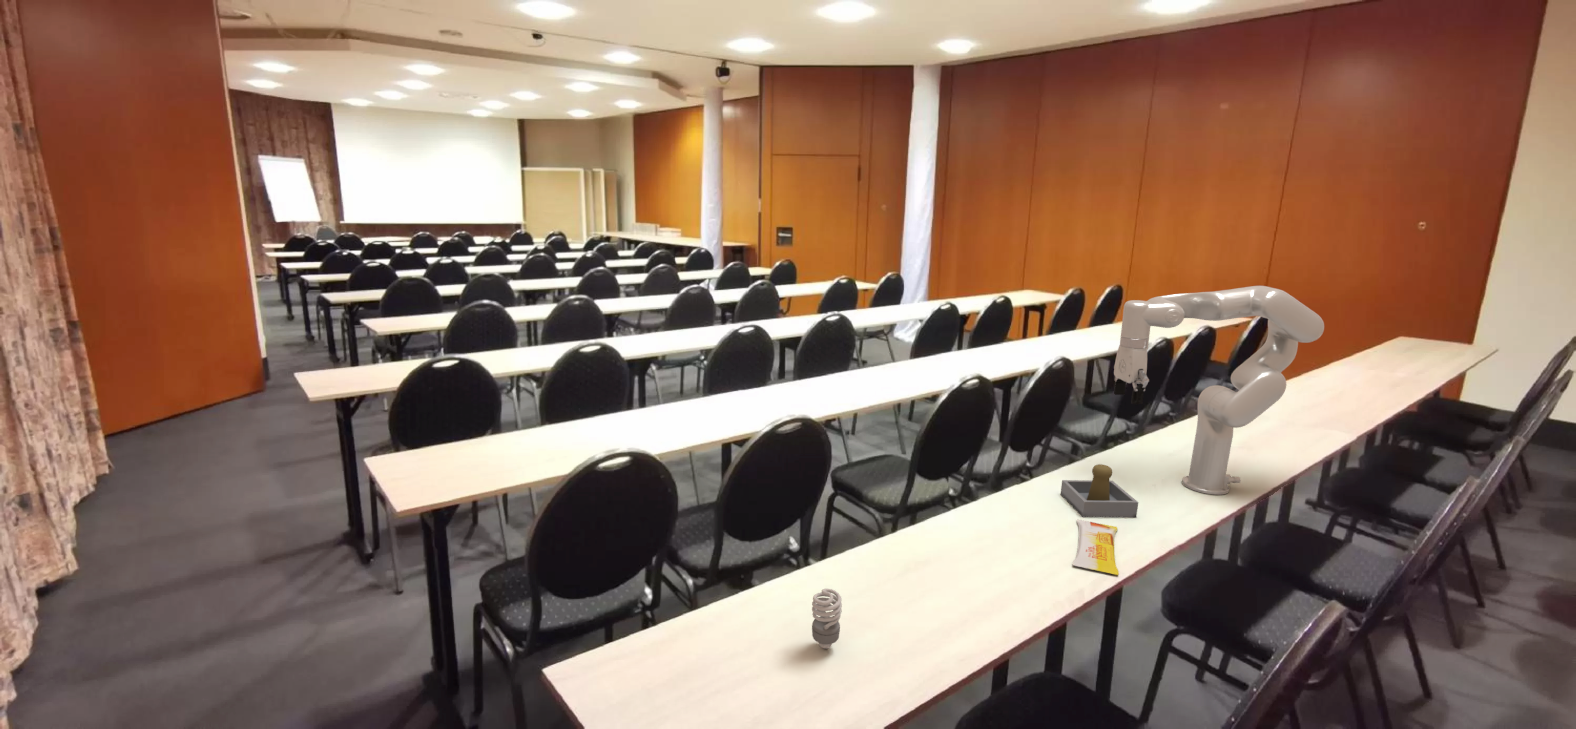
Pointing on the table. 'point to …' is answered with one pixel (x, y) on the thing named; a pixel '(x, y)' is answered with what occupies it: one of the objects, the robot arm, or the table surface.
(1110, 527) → the food package
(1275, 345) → the robot arm
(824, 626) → the light bulb
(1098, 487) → the cork
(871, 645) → the table surface
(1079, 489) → the tote
